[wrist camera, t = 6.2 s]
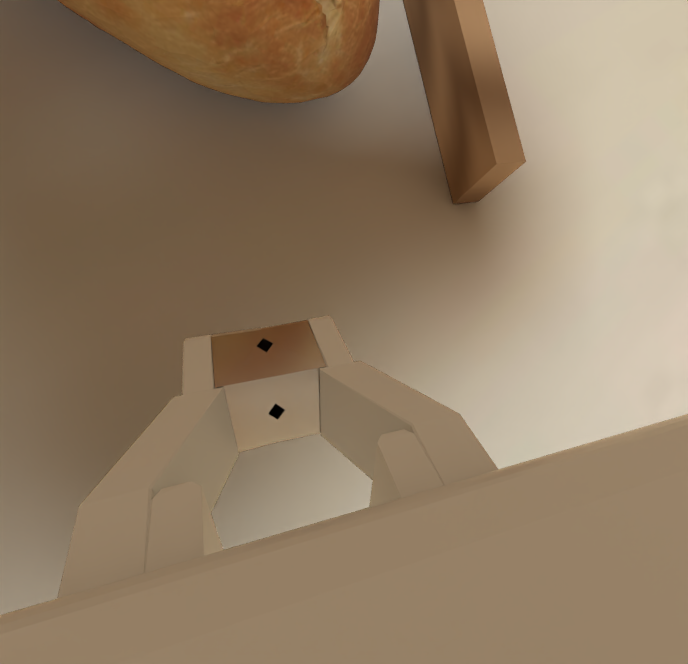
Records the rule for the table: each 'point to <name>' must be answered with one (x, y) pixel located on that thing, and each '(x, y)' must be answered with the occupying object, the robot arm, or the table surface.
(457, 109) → the box
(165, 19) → the bread roll
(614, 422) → the table surface
